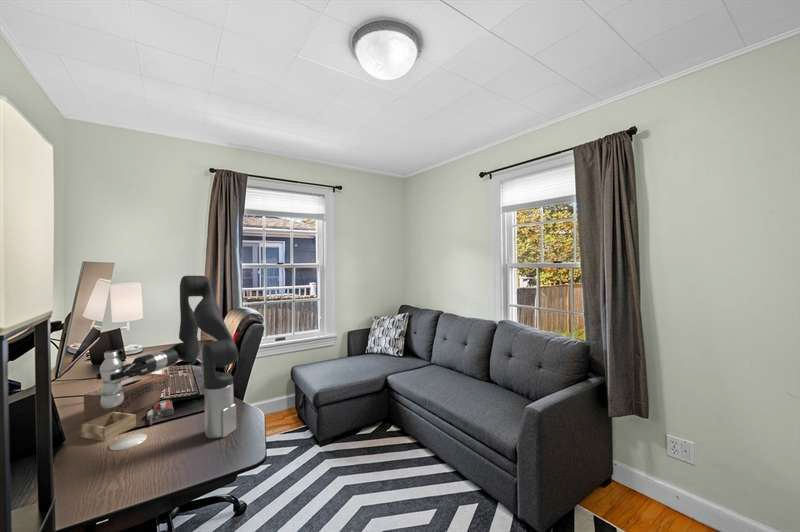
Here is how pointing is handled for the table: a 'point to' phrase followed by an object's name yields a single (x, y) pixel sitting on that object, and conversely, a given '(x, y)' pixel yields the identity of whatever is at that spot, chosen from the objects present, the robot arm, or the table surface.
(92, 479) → the table surface
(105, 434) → the oak holder
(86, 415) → the tissue box cover
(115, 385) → the plastic bottle
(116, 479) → the table surface
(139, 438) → the grey coaster
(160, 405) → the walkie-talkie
